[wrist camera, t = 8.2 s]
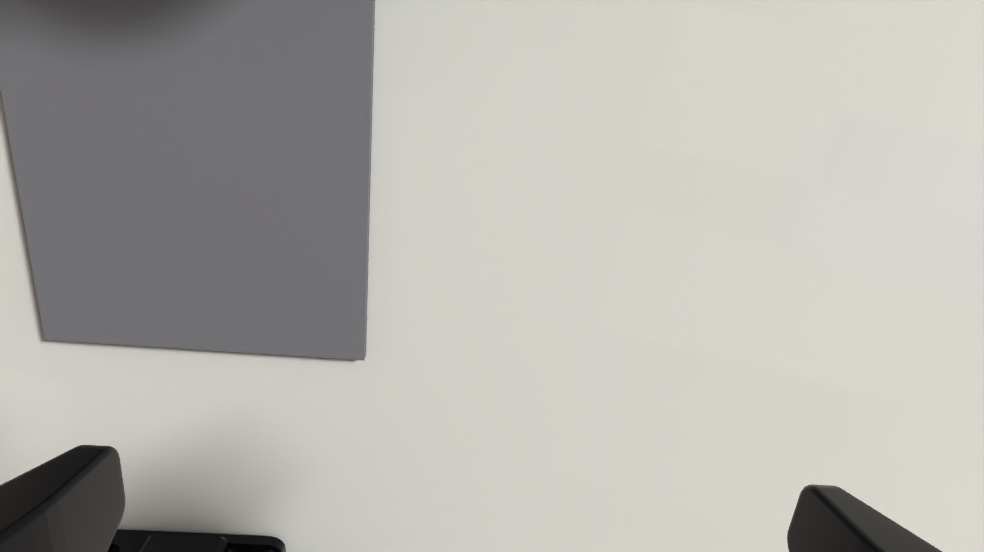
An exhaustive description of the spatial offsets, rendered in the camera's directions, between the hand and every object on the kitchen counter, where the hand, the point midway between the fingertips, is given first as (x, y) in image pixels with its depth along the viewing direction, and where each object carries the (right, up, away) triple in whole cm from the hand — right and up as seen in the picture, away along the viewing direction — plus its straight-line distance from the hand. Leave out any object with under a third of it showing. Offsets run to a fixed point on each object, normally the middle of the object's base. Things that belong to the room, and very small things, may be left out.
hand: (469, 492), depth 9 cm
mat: (-8, +6, +11) cm, 15 cm away
